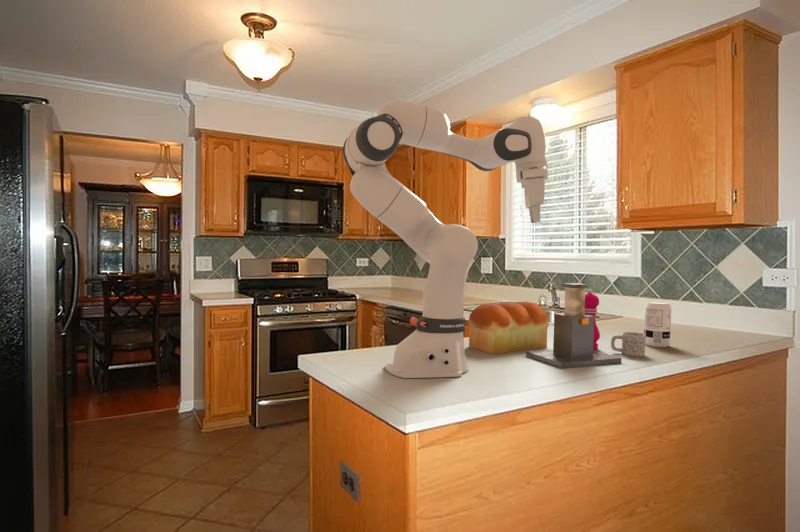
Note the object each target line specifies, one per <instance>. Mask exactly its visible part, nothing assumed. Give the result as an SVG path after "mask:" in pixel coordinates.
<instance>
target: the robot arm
mask: <svg viewBox="0 0 800 532" xmlns="http://www.w3.org/2000/svg"><path fill="white" fill-rule="evenodd" d="M450 124H451V123H450V120H449V118H448V116H447V114H446V112H443V111H441V110H440V109H437V108H435V107H434V106H433V107H432V106H429V105H426V104H422V103H417V102H412V101H405V100H404V101H403V100H388V101H387V102H385V103H384V104H382V105H381V108H380V109H379V110H378V114H377V115H375V116H372V117H369V118H367V119H365V120H364V121H362V122H361V123H360V124H359V125H358V126H356V127H355V128H354V129H352V131H351V132H350V134H349V135H348V137H346V139H345V141H344V144H343V146H342V156H343V157H342V158H343V159H344V162H345V164H346V165H347V167H348V169H349V172H350V174H351V175H352V177H351V180H350V184H349V191H350V193H351V195H352V196H353V197H354V199H355V200H356V201H357V202H358V203H359V204H360V205H361V206H362V207H363V208H364V209H365V210H366V211H367V212H368V213H369V214H371V215H372V216H373V217H374V218H375V219H377V220H378V221H380V222H381V223H382V224H383V225H385V226H386V227H387V228H389V229H390V230H391V231H392V232H394V233H395V234H396V235H397V236H399V238H401V240H403V241H404V242H405V243H406V245H408V246H409V248H410V249H412V250H413V251H414V253H416V254H417V256H418V257H420V258H421V259H422V260H423V261H425V262H426V263H427V264H429V268H428V274H427V279H426V282H425V283H424V285H423V288H422V292H423V293H422V315H421V316H420V317H419V318H417V317H415V316H412V317H410V319H409V323H410V324H411V325H413V326H415V328H416V329H415V330H414V331H412V333H410V334H409V335H408V336H407V337H405V338H404V339H402V340H401V342H399V343H398V344H397V345H396V347H395V349H394V354H393V360H392V361H389V362H386V363H385V364H384V365H385V367H384V369H385V370H386V372H388V373H389V374H391V375H393V376H395V377H398V378H403V379H424V378H425V379H426V378H430V379H431V378H455V377H456V378H457V377H461V376H462V375H463V374H464V373H467V371H468V370H469V366H468V362H467V358H466V351H465V341H464V339H465V338H464V337H465V333H466V332H465V331H466V317H464V310H465V309H464V308H465V305H464V304H465V289H466V281H467V278H468V273H469V271H470V266H471V263H472V261H473V259H474V258H475V257H476V255H477V252H478V248H479V242H478V239H477V236H476V235H475V233H474V232H473V231H472V230H471V229H469V228H468V227H466V226H463V225H461V224H458V223H450V224H445V223H444V222H442V221H440V220H439V219H438V218H437V217H435V215H434V214H433V213H432V211H430V209H429V208H428V207H427V204H426V202H425V201H424V200H422V199H421V198H420V197H418V195H416V194H415V193H414V192H413V191H411V190H410V189H409V188H408V187H406V186H405V185H404V184H402V182H400V181H399V180H398V179H396V178H395V177H393V175H392V174H391V173H390V171H389V170H388V167H387V166H386V163H385V162H386V161H387V160H389V159H390V158H391V157H392V156H393V155H394V154H395V152H396V150H397V148H398V147H399V145H406V146H410V147H413V148H417V149H423V150H428V151H434V152H437V153H441V154H444V155H447V156H450V157H453V158H457V159H460V160H463V161H467V162H468V163H470V164H471V165H473V167H474V168H476V169H478V170H479V171H483V172H492V171H493V170H495V169H497V168H499V167H502V166H505V165H508V164H510V163H514V164H515V176H516V177H515V178H516V183H519V184H521V188H522V189H523V188H524V190H523V191H524V203H525V204H524V206H525V209H527V210H528V212H529V217H530V223H531V224H535V223H539V222H541V206H542V205H543V204H544V202H545V192H546V191H545V189H546V188H545V181H546V180H548V179H549V173H548V172H549V171H548V160H547V158H546V150H547V149H546V148H547V145H546V144H547V143H546V135H545V130H544V125H543V123H542V121H541V119H539V118H537V117H534V116H521V117H517V118H516V119H515V120H514V121H513V122H512V123H511V124H509V125H507V126H506V127H503V128H501V129H499V130H496V131H494V132H492V133H491V134H488V135H487V136H486V135H485V136H484V137H479V138H475V139H474V138H470V137H468V136H467V137H466V136H464V135H460V134H457V133H455V132H452V131H451V130H450V129H451V125H450Z"/></svg>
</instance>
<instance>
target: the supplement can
mask: <svg viewBox="0 0 800 532" xmlns="http://www.w3.org/2000/svg"><path fill="white" fill-rule="evenodd" d="M643 321H644V322H643V334H645V335H646V339H645V346H649V347H654V348H668V347H669V346H670V344H671V325H672V306H671V304H670V303H669V302H663V301H647V302H646V303H645V306H644V320H643Z"/></svg>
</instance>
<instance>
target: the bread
mask: <svg viewBox="0 0 800 532" xmlns="http://www.w3.org/2000/svg"><path fill="white" fill-rule="evenodd" d="M549 321H550V320H549V315H548V313H547V312H546V311H545V309H544V308H543V307H542V306H541V305H540V304H538V303H537V302H532V301H518V302H499V303H498V304H496V303H495V304H494V303H481V304H480V305H478V306H477V307H475V308H473V310H472V311H471V313H470V314H469V317H468V322H467V326H468V327H469V331H468V332H469V333H468V347H469V348H470V349H474V348H475V350H479V351H481V350H482V352H485V353H488V352H489V354H492V355H496V353H497V354H503V353H504V352H505V353H510V352H520V351H527V350H533V349H542V348H547V347H548V327H550V323H549Z"/></svg>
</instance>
